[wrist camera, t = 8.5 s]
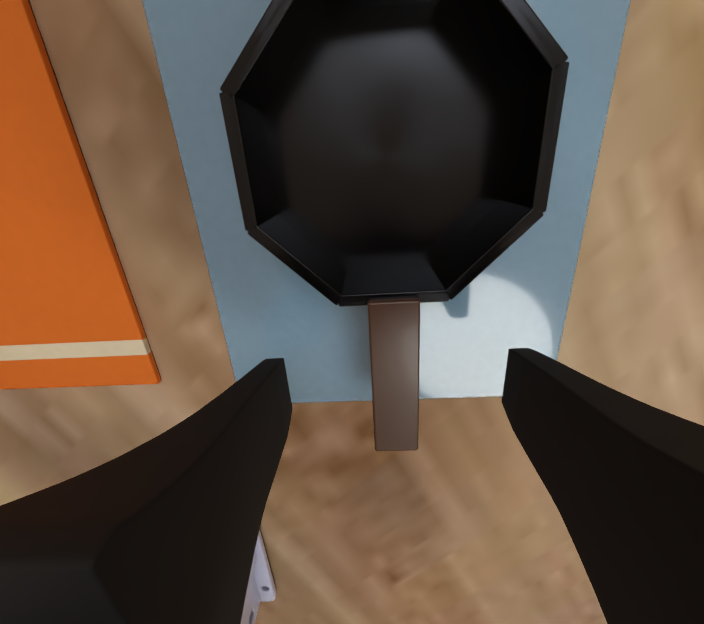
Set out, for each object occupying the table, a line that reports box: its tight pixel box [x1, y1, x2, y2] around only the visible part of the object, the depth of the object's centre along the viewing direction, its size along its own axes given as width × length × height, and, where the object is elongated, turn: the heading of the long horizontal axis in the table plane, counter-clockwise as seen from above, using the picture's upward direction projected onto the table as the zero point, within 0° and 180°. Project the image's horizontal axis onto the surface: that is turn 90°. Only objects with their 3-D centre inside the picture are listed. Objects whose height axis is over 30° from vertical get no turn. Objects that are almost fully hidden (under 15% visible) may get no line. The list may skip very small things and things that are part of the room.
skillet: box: [219, 0, 569, 451], centre depth 11 cm, size 14×8×3 cm, turn 4°
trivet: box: [142, 0, 630, 403], centre depth 12 cm, size 18×14×1 cm
